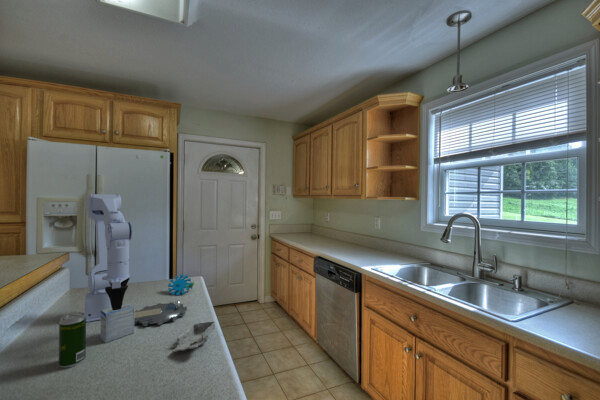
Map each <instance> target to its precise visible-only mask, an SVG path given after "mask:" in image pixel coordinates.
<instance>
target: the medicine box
mask: <svg viewBox="0 0 600 400" xmlns="http://www.w3.org/2000/svg"><path fill="white" fill-rule="evenodd" d="M134 312H135V306H134V305H132V304H130V303H123V304H122V307H121V309H120V310H114V311H113V310H112V308H109V309H106V310H102V311H101V320H100V339H101V340H102V341H103V342H105V344H107V343H109V342H112V341H115V340H117V339H120V338H124V337H126V336H128V335H131V334H133V333H135V324H134Z"/></svg>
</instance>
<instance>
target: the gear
mask: <svg viewBox="0 0 600 400" xmlns="http://www.w3.org/2000/svg"><path fill="white" fill-rule="evenodd" d="M174 280H175V281H174ZM169 281H170V282H171V283H170V282H169V283H168V284H167V287H168V289H167V290H168V292H170V293H171V295H172V296H173V295H176V296H180V294H182V295H185V294H186V291H187V292H188V291H190V289H191V290H193V286H194V285H195V282H194V281H192V280H191V278H190V277H189V276H188V275H187V274H185V276H184V274H180V275H179V276H178V275H174V279H173V278H171V279H170V280H169ZM185 290H186V291H185Z"/></svg>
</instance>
